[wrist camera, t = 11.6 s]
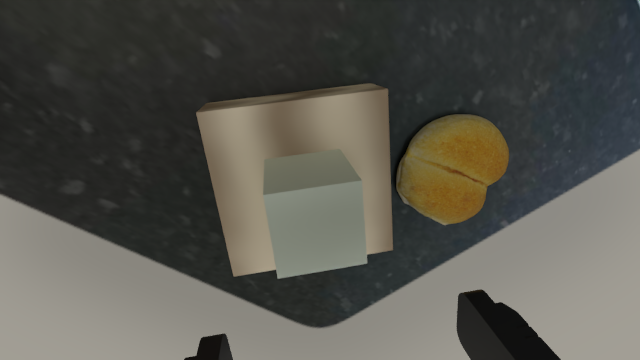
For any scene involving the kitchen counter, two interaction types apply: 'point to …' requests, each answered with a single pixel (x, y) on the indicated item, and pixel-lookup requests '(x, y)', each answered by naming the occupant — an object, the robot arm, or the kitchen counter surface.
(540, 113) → the kitchen counter surface
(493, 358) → the robot arm
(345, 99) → the birch plinth
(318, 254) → the sage block
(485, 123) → the bread roll
